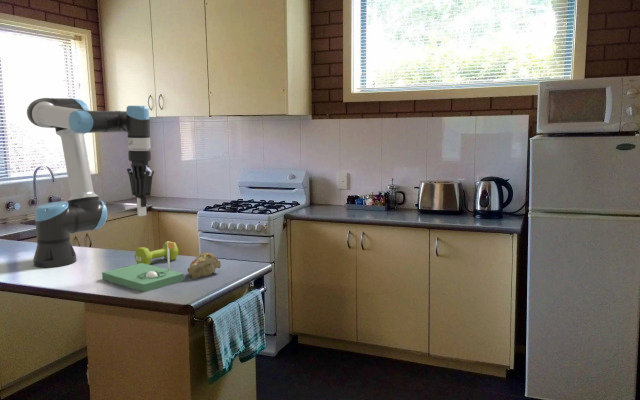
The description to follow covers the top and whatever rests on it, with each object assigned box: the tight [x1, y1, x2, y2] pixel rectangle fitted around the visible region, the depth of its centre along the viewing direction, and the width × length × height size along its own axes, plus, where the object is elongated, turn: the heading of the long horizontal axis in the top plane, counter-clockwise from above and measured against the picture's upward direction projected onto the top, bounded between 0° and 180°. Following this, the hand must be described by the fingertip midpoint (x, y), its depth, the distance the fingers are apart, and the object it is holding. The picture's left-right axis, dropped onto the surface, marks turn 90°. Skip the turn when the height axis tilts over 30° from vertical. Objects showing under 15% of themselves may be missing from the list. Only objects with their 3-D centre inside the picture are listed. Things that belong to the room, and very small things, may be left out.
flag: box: [166, 240, 175, 271], centre depth 191 cm, size 4×1×13 cm, turn 53°
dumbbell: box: [134, 241, 179, 265], centre depth 213 cm, size 16×8×7 cm, turn 141°
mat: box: [101, 263, 185, 293], centre depth 189 cm, size 24×16×2 cm, turn 53°
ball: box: [145, 271, 158, 278], centre depth 186 cm, size 4×4×4 cm
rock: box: [186, 252, 221, 280], centre depth 196 cm, size 12×9×10 cm
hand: (142, 215), depth 197 cm, fingers closed
